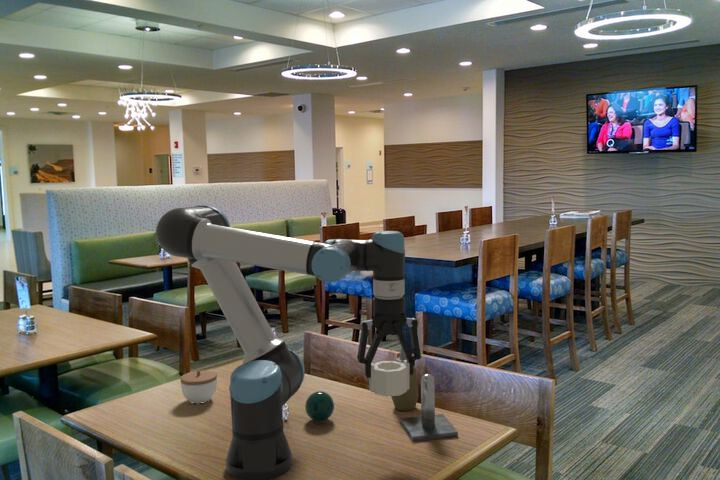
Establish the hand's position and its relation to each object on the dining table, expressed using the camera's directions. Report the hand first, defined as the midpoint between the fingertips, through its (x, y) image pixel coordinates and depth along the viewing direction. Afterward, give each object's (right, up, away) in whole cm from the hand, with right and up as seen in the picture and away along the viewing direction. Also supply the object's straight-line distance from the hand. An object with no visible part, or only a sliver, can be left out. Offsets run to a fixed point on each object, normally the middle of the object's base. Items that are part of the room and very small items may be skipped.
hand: (389, 388), depth 144 cm
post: (+11, -14, +12) cm, 21 cm away
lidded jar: (-56, -13, +38) cm, 69 cm away
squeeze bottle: (+6, -13, +28) cm, 31 cm away
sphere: (-18, -14, +20) cm, 31 cm away
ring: (0, 0, 0) cm, 0 cm away
